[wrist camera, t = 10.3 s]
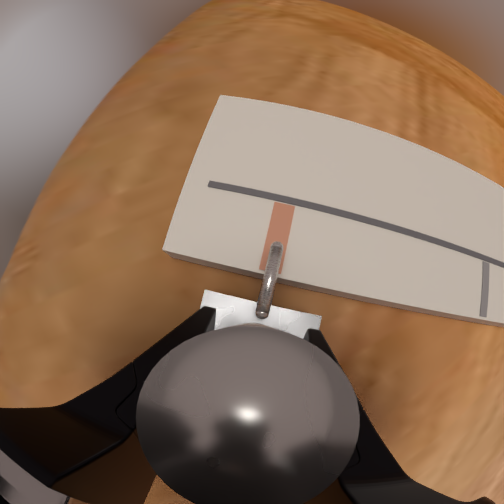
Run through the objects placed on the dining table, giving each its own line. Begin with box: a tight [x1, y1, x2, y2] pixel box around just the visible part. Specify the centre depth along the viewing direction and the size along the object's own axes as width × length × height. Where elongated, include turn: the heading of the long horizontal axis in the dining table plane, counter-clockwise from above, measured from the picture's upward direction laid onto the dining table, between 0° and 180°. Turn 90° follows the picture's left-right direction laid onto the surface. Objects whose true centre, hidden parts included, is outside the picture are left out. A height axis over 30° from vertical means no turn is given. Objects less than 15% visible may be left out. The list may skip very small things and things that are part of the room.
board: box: [162, 95, 504, 327], centre depth 17 cm, size 28×12×2 cm, turn 77°
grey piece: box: [136, 241, 360, 504], centre depth 10 cm, size 8×6×13 cm
